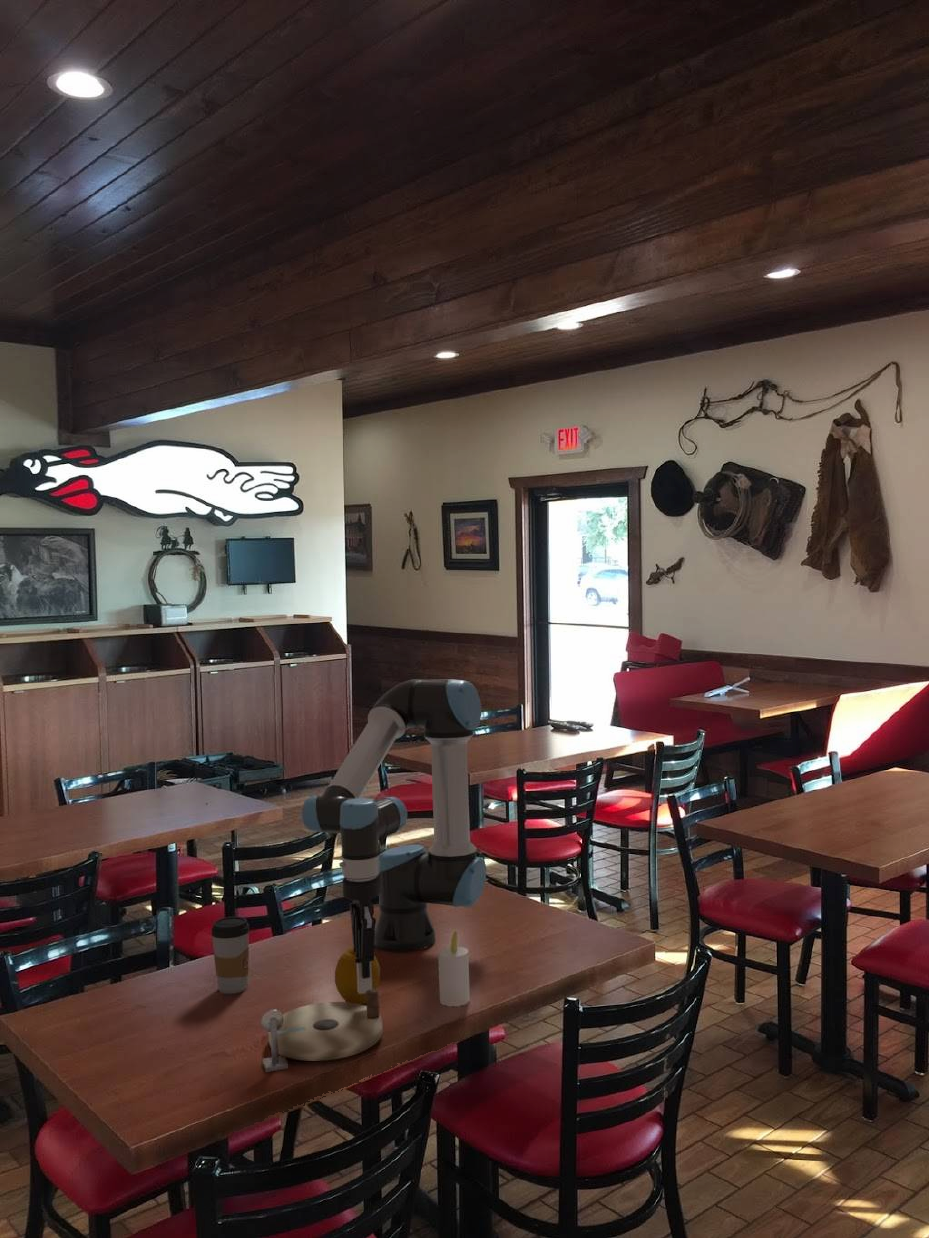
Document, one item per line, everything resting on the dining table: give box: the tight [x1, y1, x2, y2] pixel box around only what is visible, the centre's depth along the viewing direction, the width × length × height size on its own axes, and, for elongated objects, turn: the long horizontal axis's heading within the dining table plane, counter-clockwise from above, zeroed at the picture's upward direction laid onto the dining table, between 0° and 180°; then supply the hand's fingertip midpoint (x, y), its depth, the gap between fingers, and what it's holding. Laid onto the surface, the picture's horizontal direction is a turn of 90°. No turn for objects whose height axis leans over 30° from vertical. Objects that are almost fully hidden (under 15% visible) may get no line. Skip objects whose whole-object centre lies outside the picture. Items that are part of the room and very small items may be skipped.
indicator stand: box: [261, 1008, 289, 1073], centre depth 196 cm, size 4×4×10 cm
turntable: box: [268, 989, 384, 1062], centre depth 206 cm, size 22×22×7 cm
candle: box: [437, 930, 471, 1008], centre depth 223 cm, size 6×6×15 cm
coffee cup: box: [211, 916, 250, 995], centre depth 234 cm, size 8×8×15 cm
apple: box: [334, 947, 381, 1005], centre depth 223 cm, size 10×10×12 cm
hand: (364, 991), depth 215 cm, fingers closed
